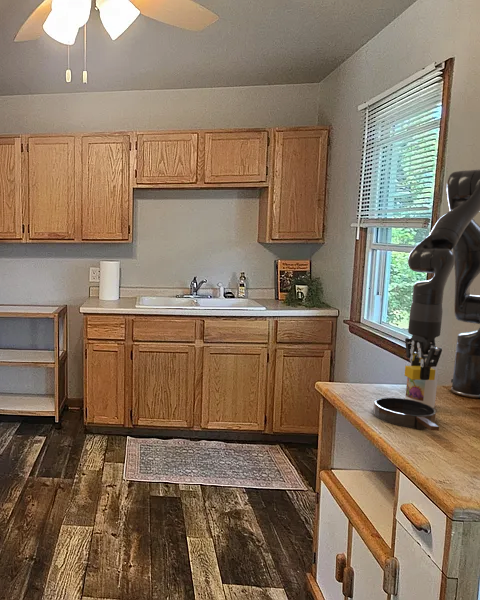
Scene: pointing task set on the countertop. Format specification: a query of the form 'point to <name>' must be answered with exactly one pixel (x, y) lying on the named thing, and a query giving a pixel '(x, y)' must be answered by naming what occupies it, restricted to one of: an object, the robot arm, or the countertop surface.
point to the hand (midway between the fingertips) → (419, 376)
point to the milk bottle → (422, 389)
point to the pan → (402, 411)
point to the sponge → (417, 372)
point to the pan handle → (425, 424)
